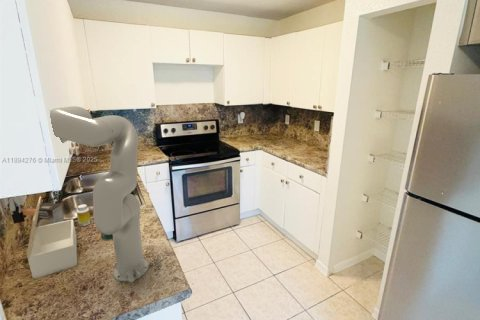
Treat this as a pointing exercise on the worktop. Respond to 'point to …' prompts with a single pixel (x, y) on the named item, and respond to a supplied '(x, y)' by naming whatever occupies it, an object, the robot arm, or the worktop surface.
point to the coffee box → (50, 214)
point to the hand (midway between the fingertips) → (20, 219)
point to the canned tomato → (106, 236)
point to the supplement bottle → (83, 215)
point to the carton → (53, 249)
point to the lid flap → (34, 222)
